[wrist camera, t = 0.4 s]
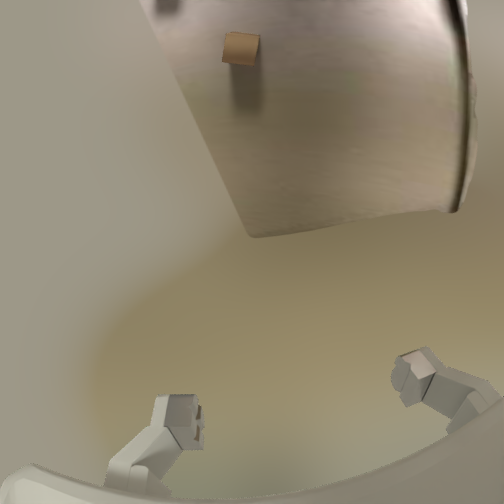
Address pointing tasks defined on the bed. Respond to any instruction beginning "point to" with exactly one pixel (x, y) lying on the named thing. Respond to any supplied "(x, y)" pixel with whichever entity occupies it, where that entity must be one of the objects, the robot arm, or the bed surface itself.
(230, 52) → the walnut block
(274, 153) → the bed surface
